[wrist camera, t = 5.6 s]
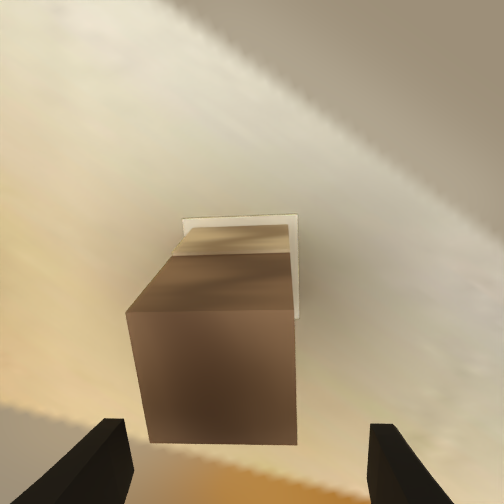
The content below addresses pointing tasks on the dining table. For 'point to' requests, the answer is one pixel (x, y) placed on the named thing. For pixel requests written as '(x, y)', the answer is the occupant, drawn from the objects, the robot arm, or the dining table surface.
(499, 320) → the dining table surface
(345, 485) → the dining table surface
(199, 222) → the cream tile
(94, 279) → the dining table surface
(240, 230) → the maple base
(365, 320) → the dining table surface
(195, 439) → the walnut block
